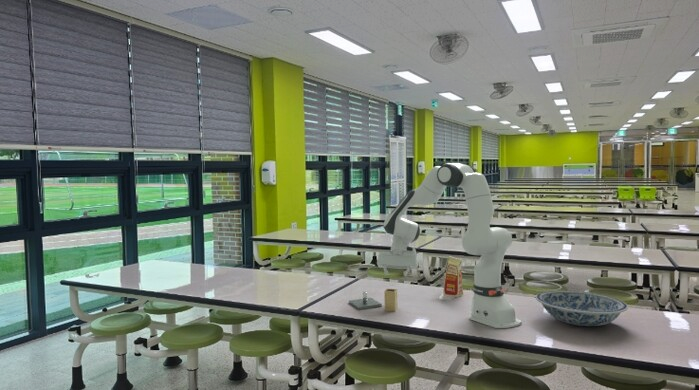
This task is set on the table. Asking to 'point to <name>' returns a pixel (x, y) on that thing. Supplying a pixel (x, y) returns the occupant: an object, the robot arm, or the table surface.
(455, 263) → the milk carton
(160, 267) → the table surface
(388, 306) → the sleeve
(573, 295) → the ceramic bowl
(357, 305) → the grey peg base
